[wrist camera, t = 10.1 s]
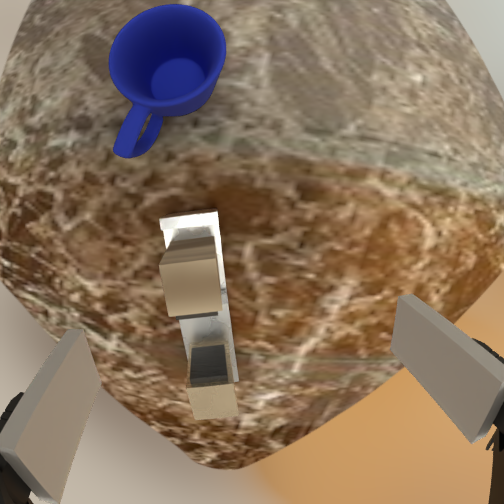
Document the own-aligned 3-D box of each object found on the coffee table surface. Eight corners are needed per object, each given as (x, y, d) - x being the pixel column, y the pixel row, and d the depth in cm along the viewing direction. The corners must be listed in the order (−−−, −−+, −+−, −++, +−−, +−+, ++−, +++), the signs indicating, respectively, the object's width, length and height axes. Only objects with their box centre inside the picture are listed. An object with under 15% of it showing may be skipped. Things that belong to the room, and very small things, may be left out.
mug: (109, 144, 28) (66, 138, 18) (161, 38, 25) (143, -8, 16) (182, 173, 30) (169, 178, 20) (235, 65, 27) (246, 24, 18)
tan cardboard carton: (170, 241, 28) (158, 265, 21) (214, 235, 29) (215, 258, 22) (178, 288, 29) (170, 323, 23) (220, 283, 30) (223, 317, 23)
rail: (166, 211, 30) (146, 233, 21) (216, 205, 31) (219, 224, 21) (194, 370, 36) (193, 430, 26) (236, 365, 36) (245, 425, 27)
